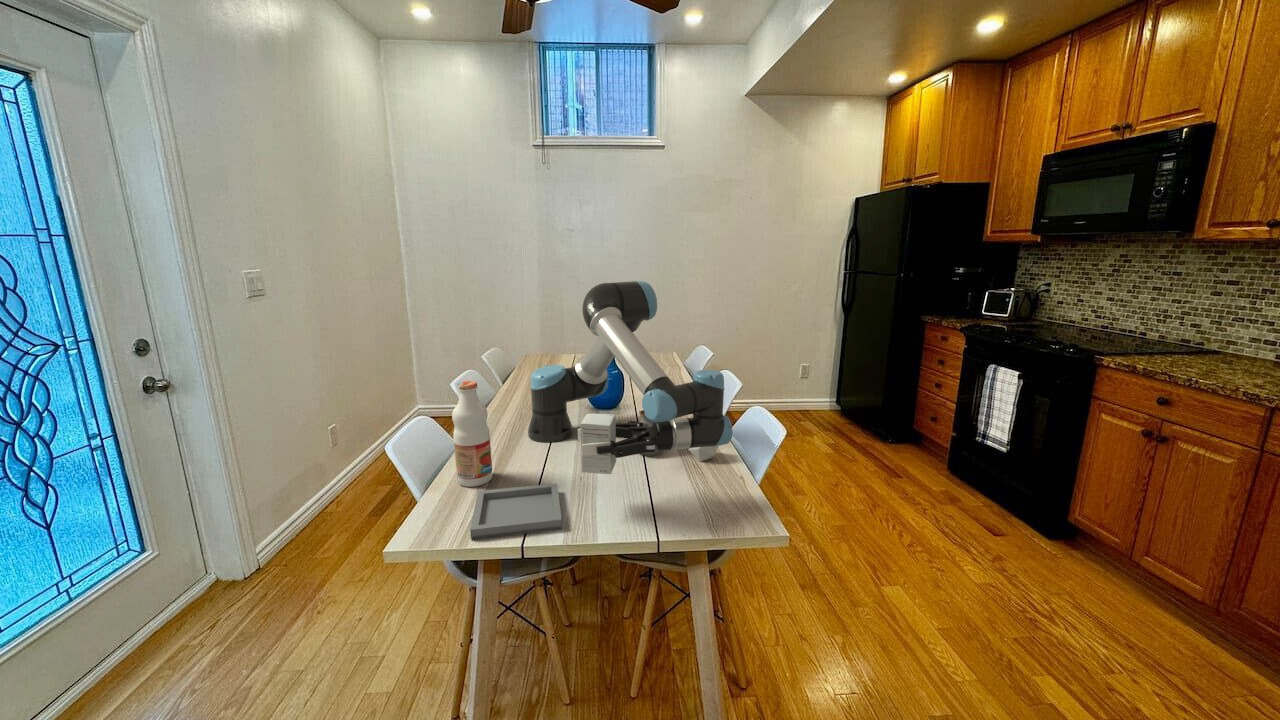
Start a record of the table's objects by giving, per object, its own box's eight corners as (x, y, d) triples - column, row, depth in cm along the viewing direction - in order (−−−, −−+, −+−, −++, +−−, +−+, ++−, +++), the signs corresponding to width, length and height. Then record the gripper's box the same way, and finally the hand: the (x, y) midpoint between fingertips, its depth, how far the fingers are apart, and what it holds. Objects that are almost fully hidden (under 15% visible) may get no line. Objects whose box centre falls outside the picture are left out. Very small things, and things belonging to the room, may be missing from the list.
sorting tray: (478, 500, 127) (478, 491, 127) (557, 492, 132) (557, 483, 131) (471, 539, 110) (470, 529, 110) (561, 529, 114) (561, 519, 114)
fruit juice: (458, 474, 142) (450, 379, 135) (492, 470, 144) (486, 377, 138) (456, 489, 133) (446, 389, 126) (492, 485, 135) (485, 386, 129)
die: (706, 452, 158) (688, 430, 156) (727, 445, 153) (709, 422, 151) (697, 470, 152) (679, 447, 150) (719, 464, 147) (700, 440, 145)
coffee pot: (640, 441, 165) (641, 398, 162) (672, 447, 160) (673, 403, 157) (609, 466, 147) (608, 418, 143) (644, 474, 142) (645, 425, 138)
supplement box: (588, 459, 126) (587, 412, 123) (616, 461, 125) (616, 414, 122) (580, 472, 119) (579, 423, 116) (611, 475, 118) (610, 424, 115)
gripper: (682, 467, 114) (585, 476, 110) (659, 432, 135) (576, 439, 130) (683, 436, 113) (584, 444, 108) (659, 406, 133) (575, 412, 129)
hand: (580, 441), depth 119 cm, fingers closed on supplement box, 9 cm apart
